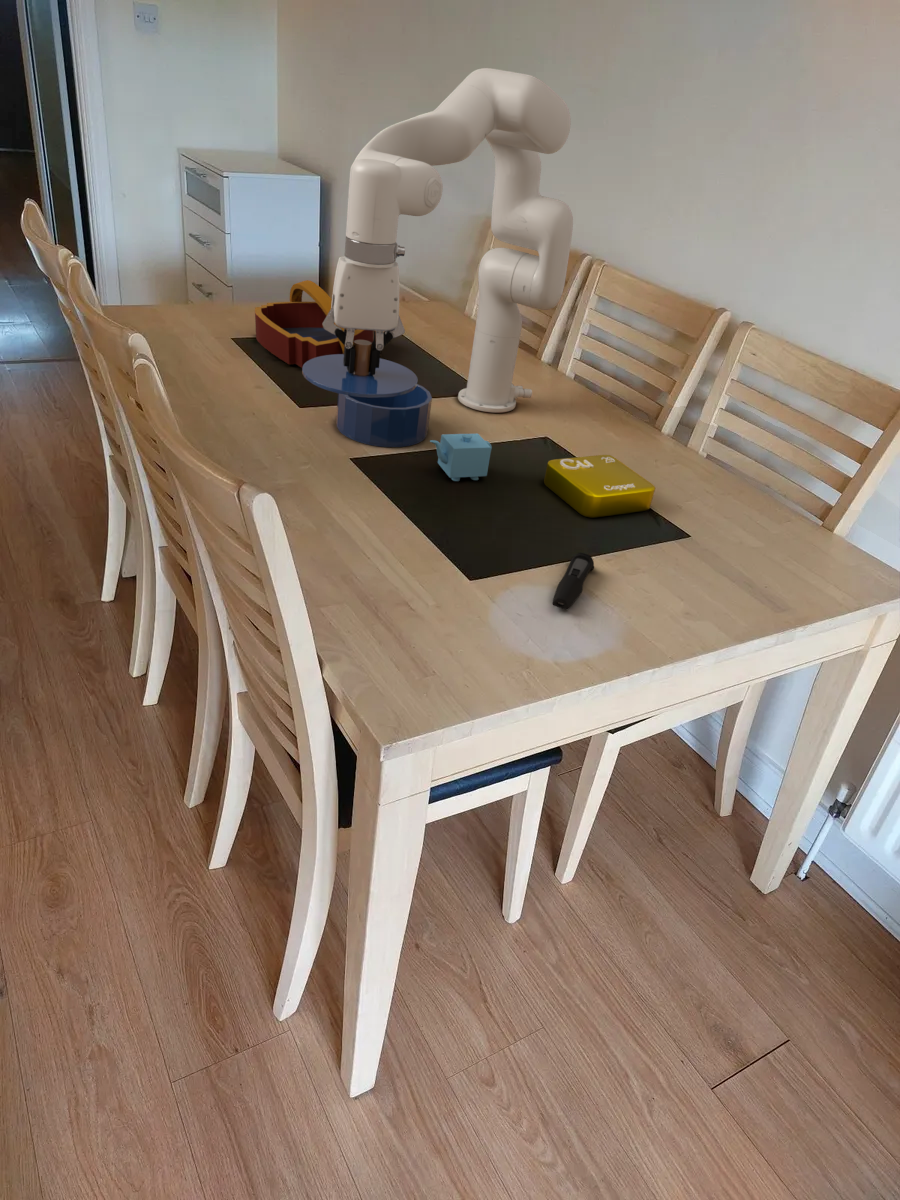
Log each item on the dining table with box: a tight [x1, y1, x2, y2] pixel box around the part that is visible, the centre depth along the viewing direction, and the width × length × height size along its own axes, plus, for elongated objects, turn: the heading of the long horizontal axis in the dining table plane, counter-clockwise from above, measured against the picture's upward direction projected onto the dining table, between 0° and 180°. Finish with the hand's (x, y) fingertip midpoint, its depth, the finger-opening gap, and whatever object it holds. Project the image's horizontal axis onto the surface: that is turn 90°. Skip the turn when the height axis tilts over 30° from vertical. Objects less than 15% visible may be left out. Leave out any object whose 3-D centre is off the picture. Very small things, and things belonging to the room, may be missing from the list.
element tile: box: [543, 454, 656, 519], centre depth 154 cm, size 15×15×5 cm
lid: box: [301, 340, 419, 398], centre depth 139 cm, size 19×19×6 cm
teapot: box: [429, 433, 493, 482], centre depth 154 cm, size 12×6×8 cm, turn 111°
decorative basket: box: [254, 279, 373, 369], centre depth 200 cm, size 34×29×15 cm
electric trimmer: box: [551, 552, 595, 611], centre depth 127 cm, size 4×16×3 cm, turn 159°
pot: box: [335, 383, 433, 448], centre depth 167 cm, size 18×18×8 cm
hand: (360, 370), depth 140 cm, fingers closed on lid, 2 cm apart
